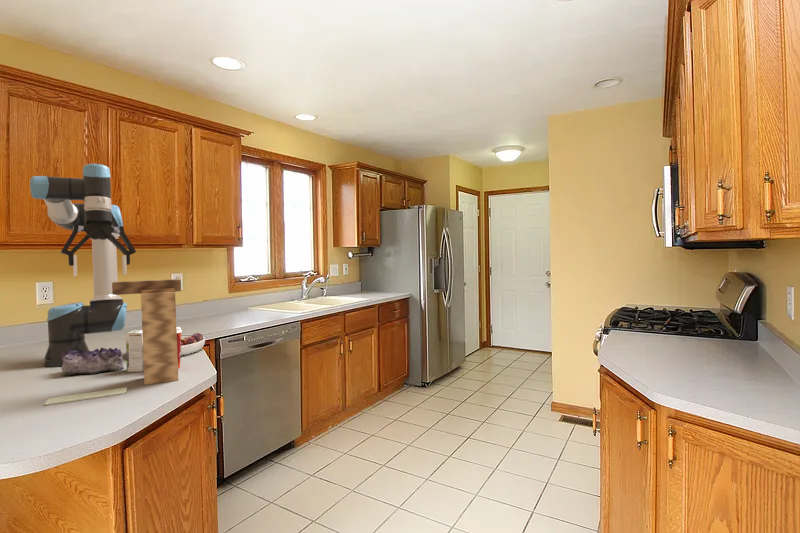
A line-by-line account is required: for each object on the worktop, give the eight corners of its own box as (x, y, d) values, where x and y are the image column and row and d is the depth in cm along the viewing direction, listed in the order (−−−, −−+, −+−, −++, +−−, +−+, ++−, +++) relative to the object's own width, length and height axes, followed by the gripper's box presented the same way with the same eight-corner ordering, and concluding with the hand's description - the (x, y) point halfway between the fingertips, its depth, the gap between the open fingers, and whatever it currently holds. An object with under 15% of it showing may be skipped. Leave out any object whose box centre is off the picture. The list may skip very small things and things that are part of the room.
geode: (128, 364, 174) (127, 340, 172) (120, 376, 163) (119, 350, 161) (66, 368, 167) (65, 342, 166) (53, 380, 156) (52, 353, 155)
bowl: (118, 364, 175) (117, 344, 174) (137, 348, 203) (136, 331, 203) (201, 357, 184) (200, 338, 184) (208, 343, 213) (207, 326, 212)
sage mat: (44, 405, 128) (44, 404, 128) (48, 399, 133) (48, 398, 133) (126, 393, 138) (125, 392, 138) (126, 388, 143) (126, 387, 143)
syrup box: (134, 368, 168) (132, 330, 167) (150, 367, 168) (149, 329, 168) (126, 372, 162) (124, 332, 162) (143, 371, 163) (141, 332, 162)
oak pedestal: (144, 384, 147) (140, 290, 145) (144, 377, 155) (141, 288, 154) (178, 380, 152) (175, 288, 150) (176, 373, 160) (173, 286, 159)
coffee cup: (188, 366, 169) (186, 327, 169) (170, 372, 162) (169, 331, 161) (171, 364, 172) (169, 326, 172) (153, 370, 164) (151, 330, 164)
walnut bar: (112, 295, 144) (112, 282, 144) (113, 294, 148) (112, 282, 147) (181, 291, 154) (180, 279, 154) (180, 290, 157) (180, 279, 157)
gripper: (51, 206, 136) (53, 275, 135) (143, 211, 153) (146, 273, 151) (49, 211, 142) (51, 277, 140) (138, 215, 158) (141, 275, 157)
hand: (100, 275), depth 146 cm, fingers open, 13 cm apart
